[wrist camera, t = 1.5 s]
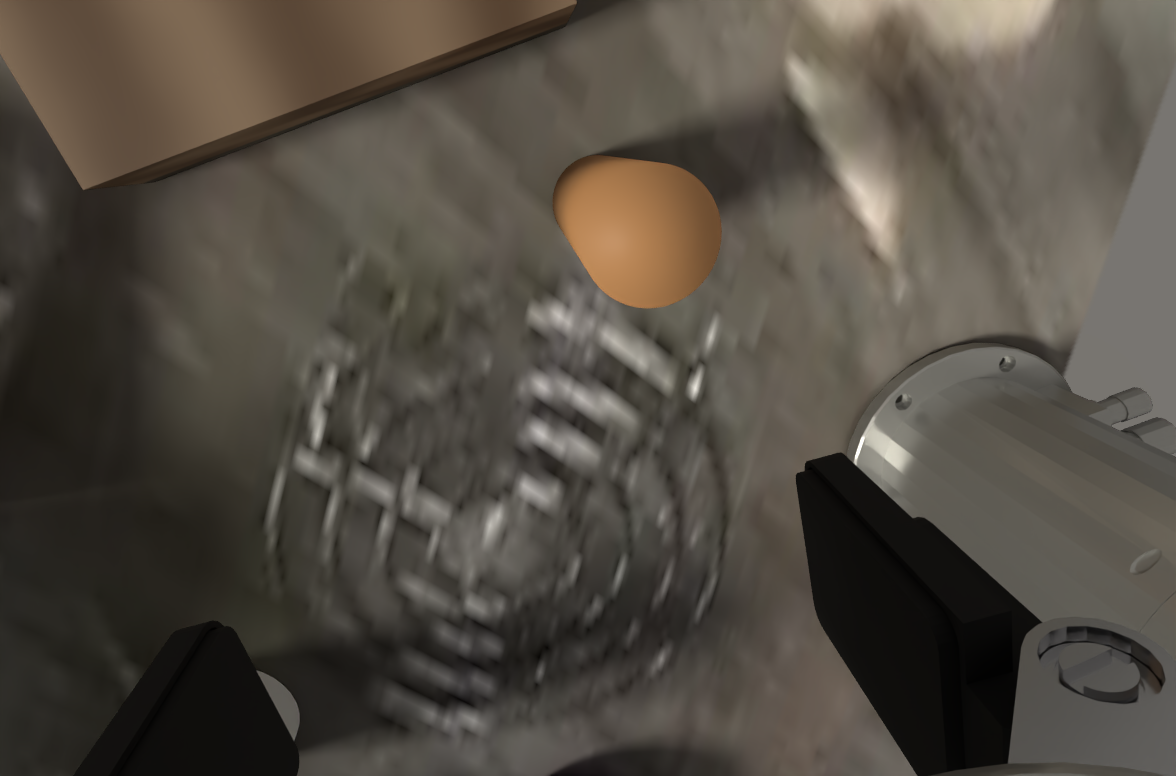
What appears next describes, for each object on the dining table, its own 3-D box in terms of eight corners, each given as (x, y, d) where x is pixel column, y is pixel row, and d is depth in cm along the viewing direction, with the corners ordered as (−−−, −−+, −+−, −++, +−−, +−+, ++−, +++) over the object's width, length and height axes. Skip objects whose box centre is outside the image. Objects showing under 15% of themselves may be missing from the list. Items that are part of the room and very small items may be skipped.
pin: (626, 141, 29) (699, 140, 18) (653, 229, 31) (736, 279, 20) (539, 173, 29) (559, 193, 18) (570, 260, 31) (607, 327, 20)
